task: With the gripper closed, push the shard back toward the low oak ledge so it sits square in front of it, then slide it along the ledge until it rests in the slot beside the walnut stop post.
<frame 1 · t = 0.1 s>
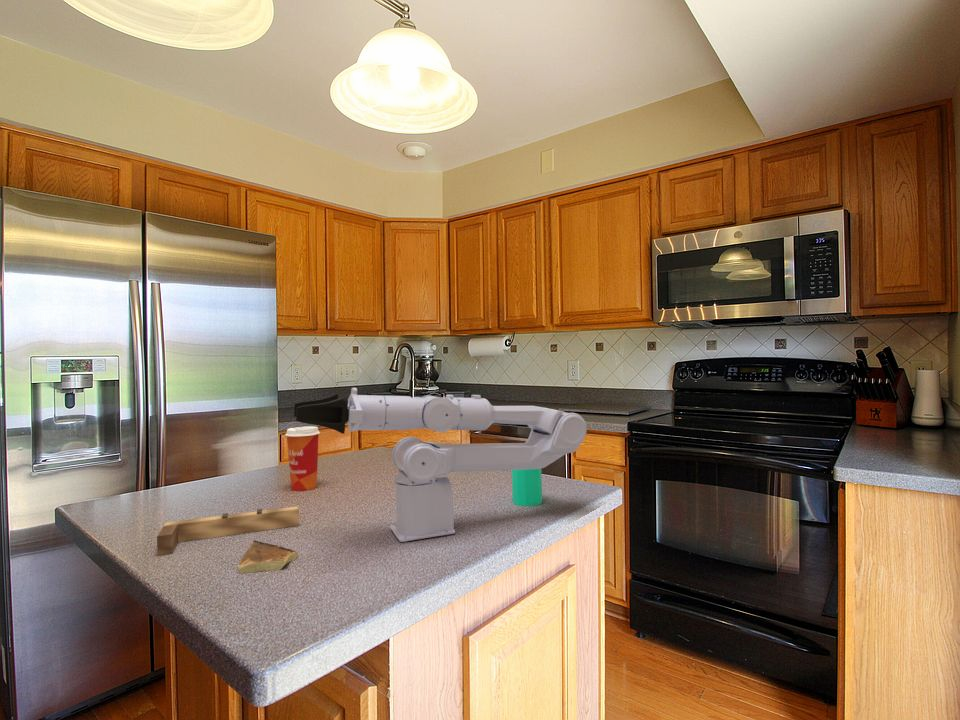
hand: (295, 411, 80), 22 cm above the countertop, tool horizontal, fingers open, 7 cm apart
oak ledge: (235, 532, 90), on the countertop
paper cup: (304, 488, 121), on the countertop
candle: (527, 502, 105), on the countertop
shard: (257, 566, 77), on the countertop
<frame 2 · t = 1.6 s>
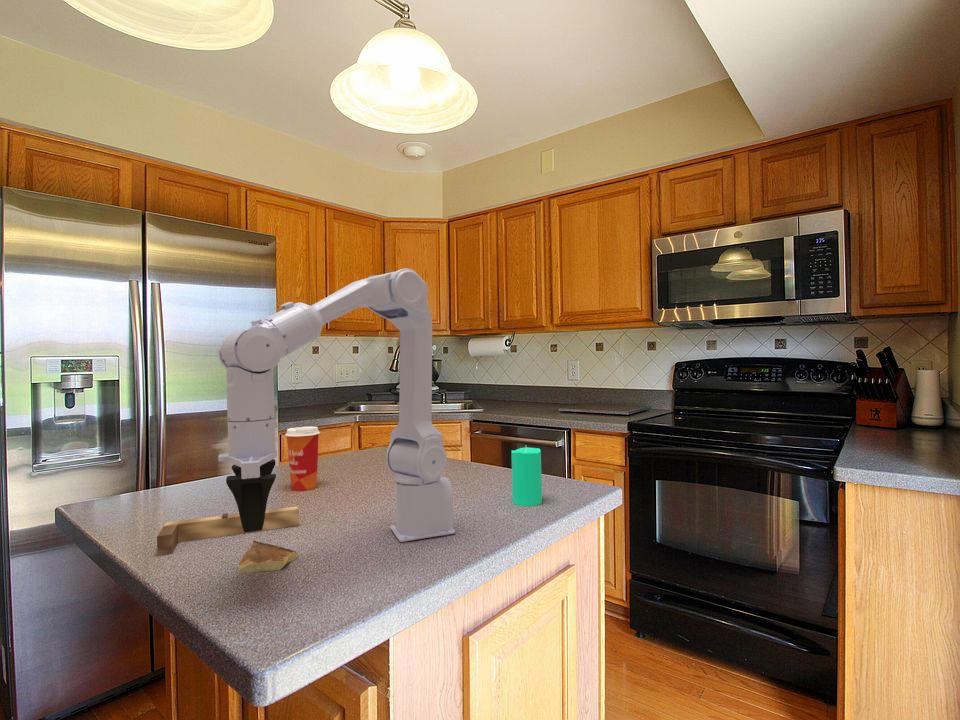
hand: (254, 522, 68), 8 cm above the countertop, tool pointing down, fingers open, 7 cm apart
nothing on the countertop moved.
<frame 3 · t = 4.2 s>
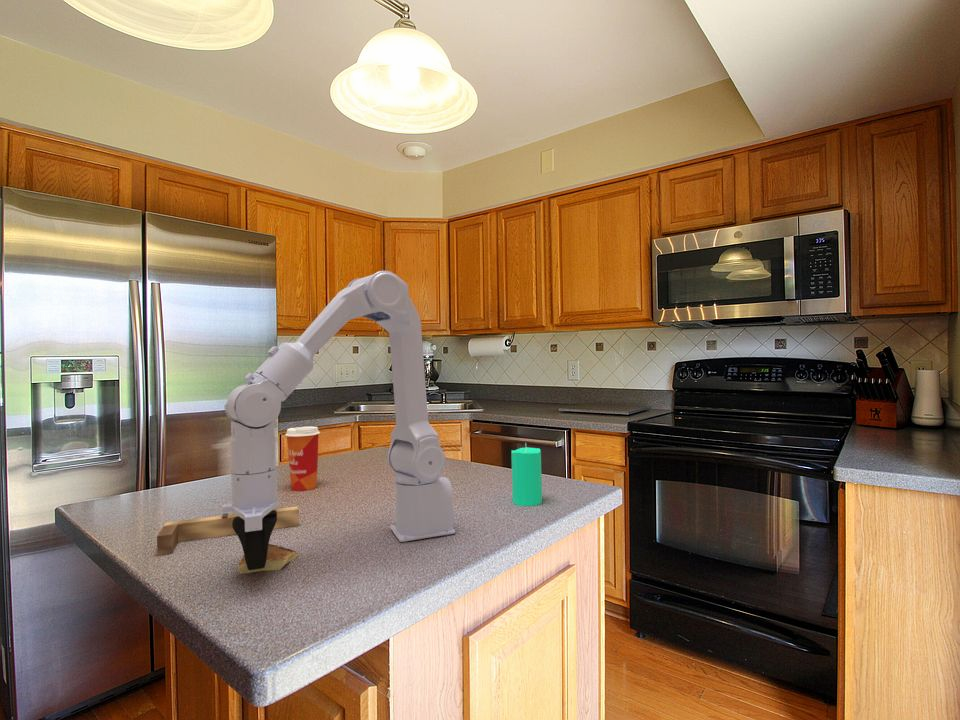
hand: (256, 567, 72), 1 cm above the countertop, tool pointing down, fingers closed
shard: (257, 566, 77), on the countertop, touching gripper
everything else where it was.
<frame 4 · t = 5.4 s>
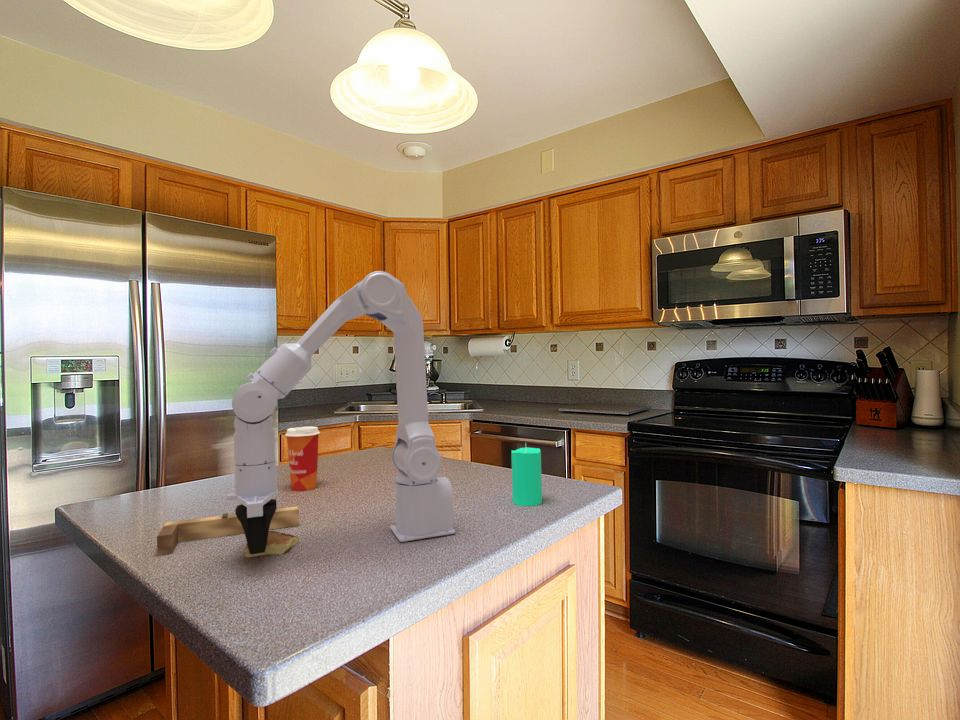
hand: (257, 552, 78), 1 cm above the countertop, tool pointing down, fingers closed
shard: (261, 550, 83), on the countertop, touching gripper
everything else where it was.
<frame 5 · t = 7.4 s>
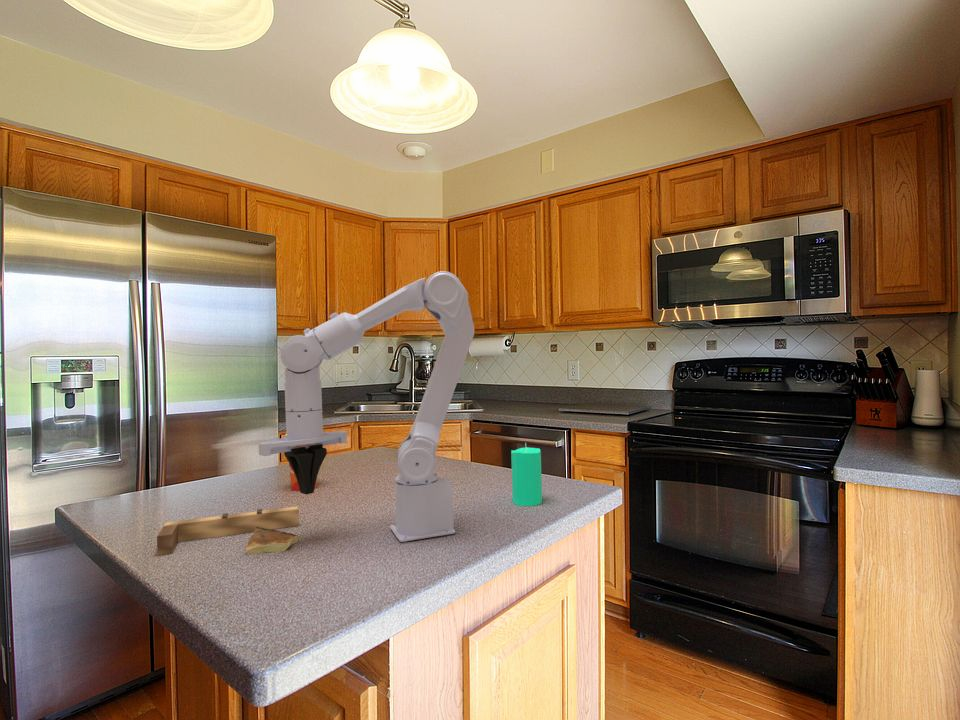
hand: (307, 492, 85), 8 cm above the countertop, tool pointing down, fingers closed
shard: (262, 549, 84), on the countertop
everything else where it was.
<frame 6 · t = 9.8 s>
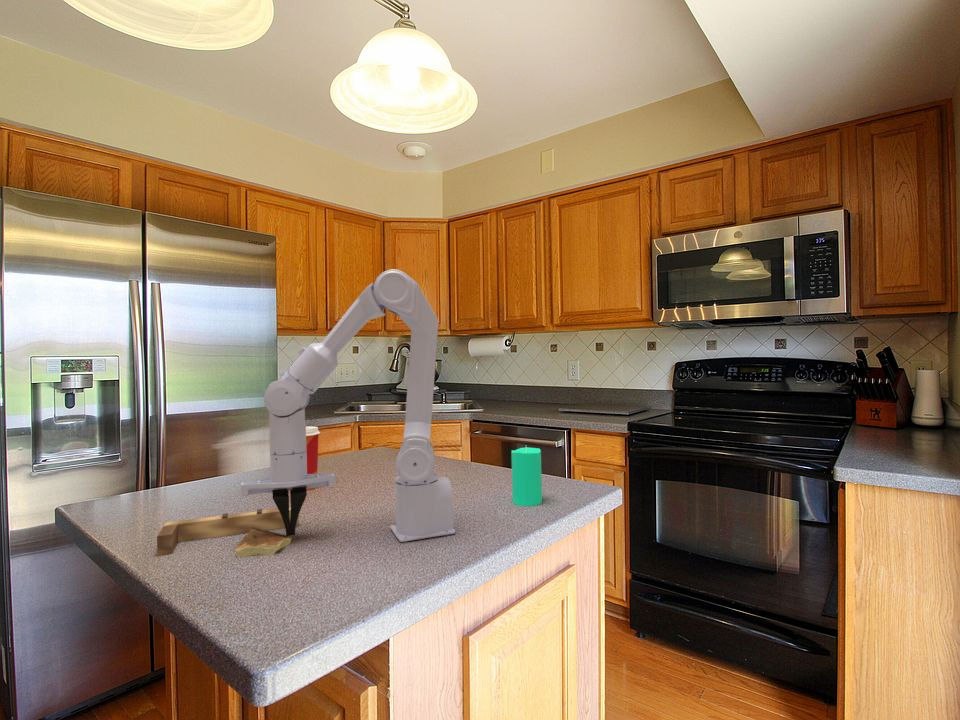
hand: (290, 533, 86), 1 cm above the countertop, tool pointing down, fingers closed
shard: (254, 550, 83), on the countertop
everything else where it was.
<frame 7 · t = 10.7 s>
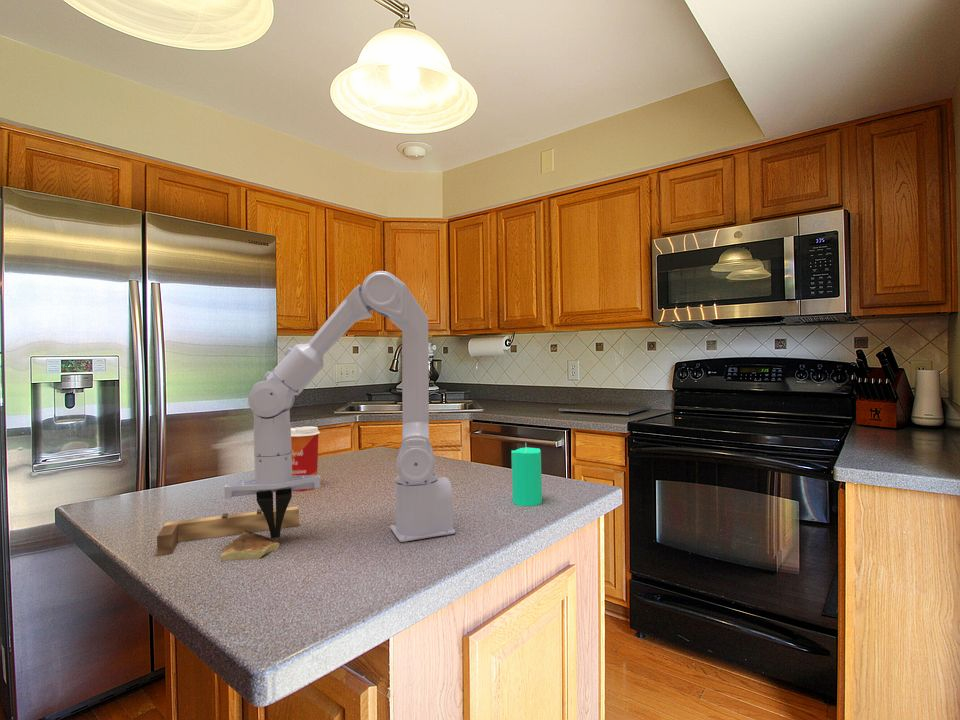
hand: (275, 536, 85), 1 cm above the countertop, tool pointing down, fingers closed
shard: (242, 554, 81), on the countertop
everything else where it was.
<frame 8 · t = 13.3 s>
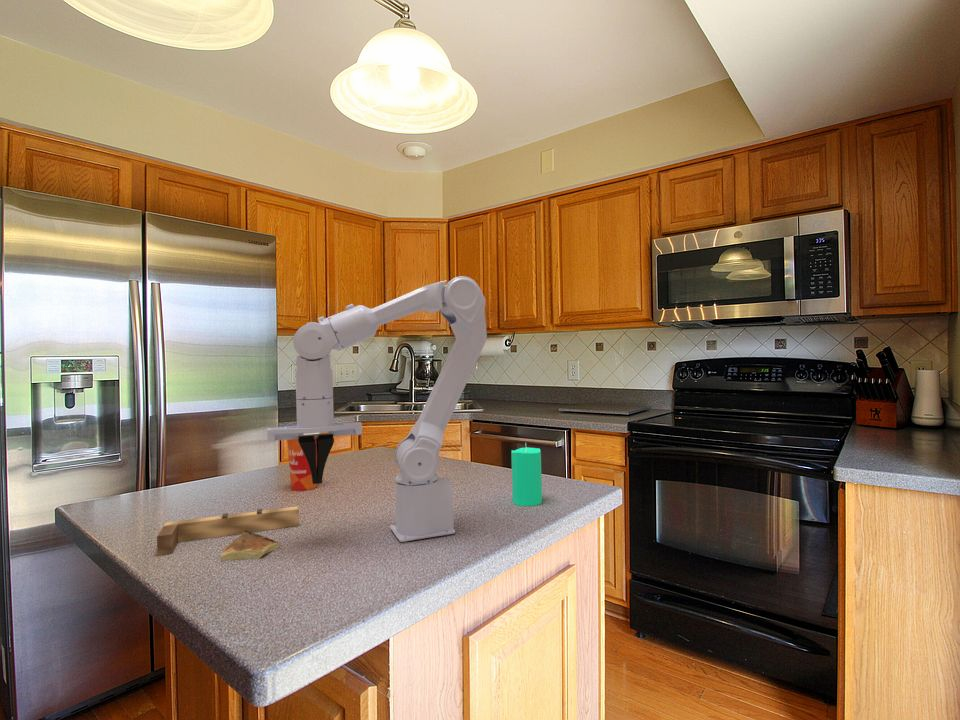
hand: (317, 482, 84), 10 cm above the countertop, tool pointing down, fingers closed
nothing on the countertop moved.
at the end: shard inside the target area (3.4 cm from its centre), on the countertop; shard moved 6.7 cm from its start; shard tilted 0° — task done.
